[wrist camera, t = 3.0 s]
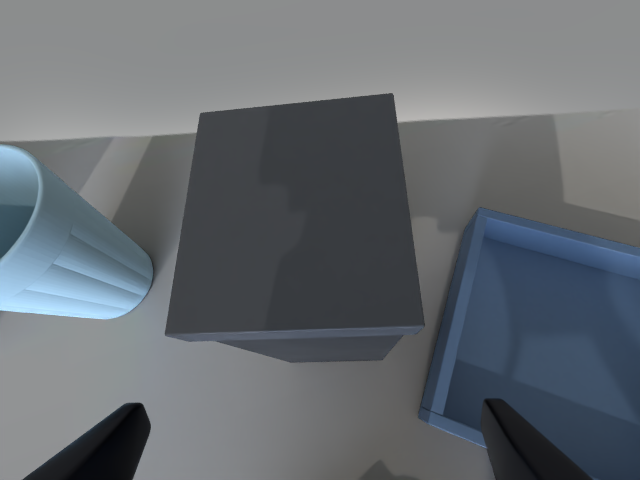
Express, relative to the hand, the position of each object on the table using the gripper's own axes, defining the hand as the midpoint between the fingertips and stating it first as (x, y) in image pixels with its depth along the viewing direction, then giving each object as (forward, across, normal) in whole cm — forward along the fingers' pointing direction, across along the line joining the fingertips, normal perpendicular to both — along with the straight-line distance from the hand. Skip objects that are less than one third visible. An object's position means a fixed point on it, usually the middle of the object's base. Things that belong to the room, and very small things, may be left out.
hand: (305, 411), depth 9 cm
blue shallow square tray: (+10, -12, +7) cm, 17 cm away
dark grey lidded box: (+12, 0, +5) cm, 13 cm away
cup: (+14, +16, +3) cm, 21 cm away
